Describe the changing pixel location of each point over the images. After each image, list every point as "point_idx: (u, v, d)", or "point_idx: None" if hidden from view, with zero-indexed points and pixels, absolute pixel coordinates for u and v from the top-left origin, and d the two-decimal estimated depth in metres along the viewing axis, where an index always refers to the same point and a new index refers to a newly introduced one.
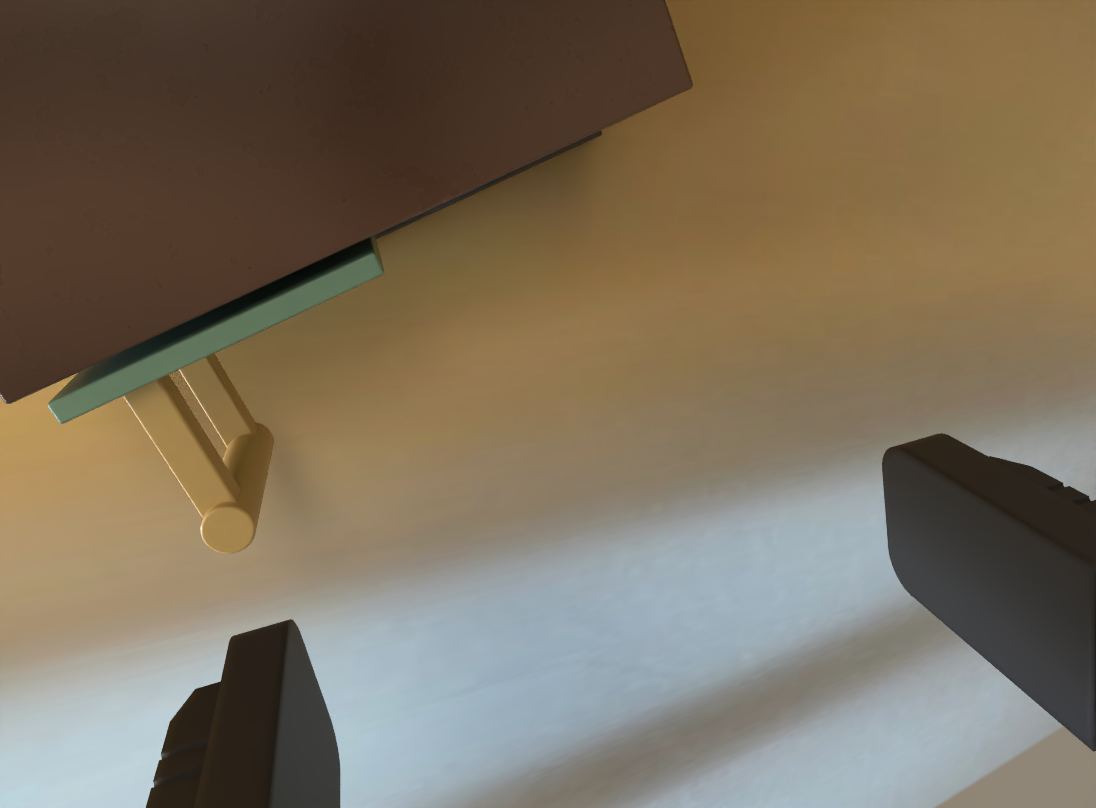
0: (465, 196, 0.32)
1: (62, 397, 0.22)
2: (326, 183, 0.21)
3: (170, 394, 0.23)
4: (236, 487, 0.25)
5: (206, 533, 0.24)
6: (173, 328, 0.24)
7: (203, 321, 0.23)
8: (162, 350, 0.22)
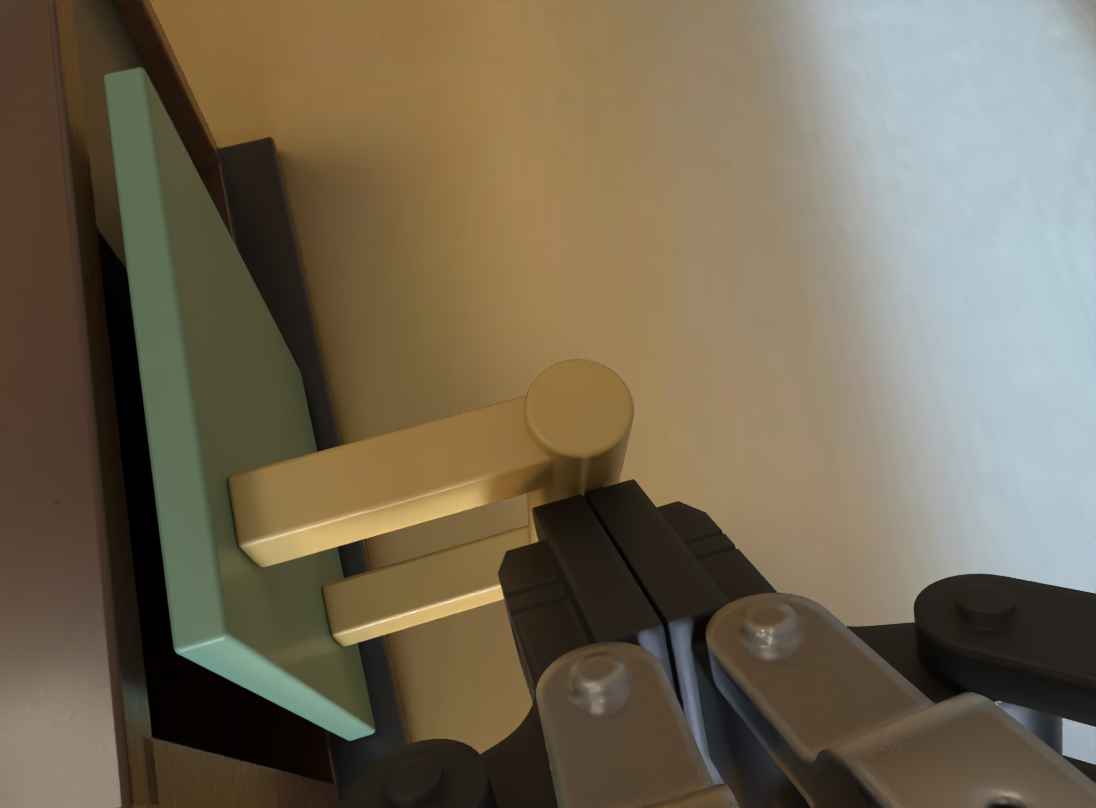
0: (304, 291, 0.23)
1: (170, 616, 0.10)
2: None
3: (280, 464, 0.12)
4: None
5: (576, 443, 0.11)
6: None
7: None
8: (144, 409, 0.11)
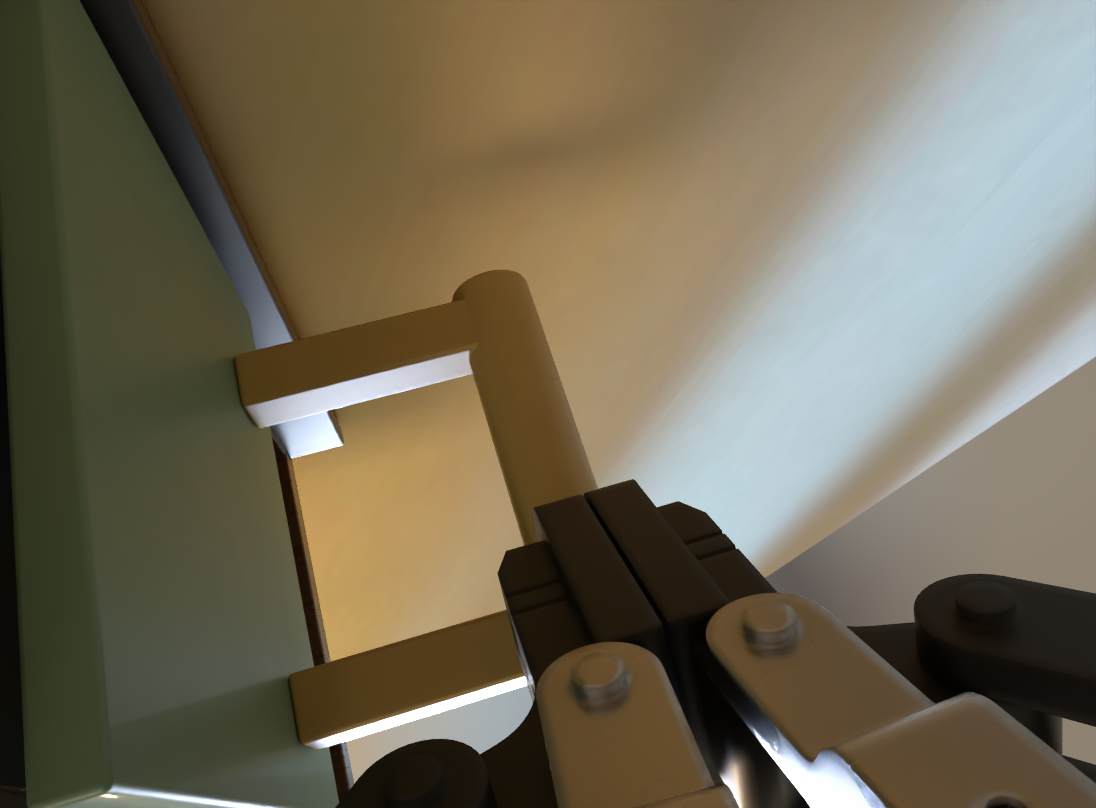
0: (190, 129, 0.14)
1: None
2: None
3: (344, 720, 0.13)
4: None
5: None
6: None
7: None
8: None
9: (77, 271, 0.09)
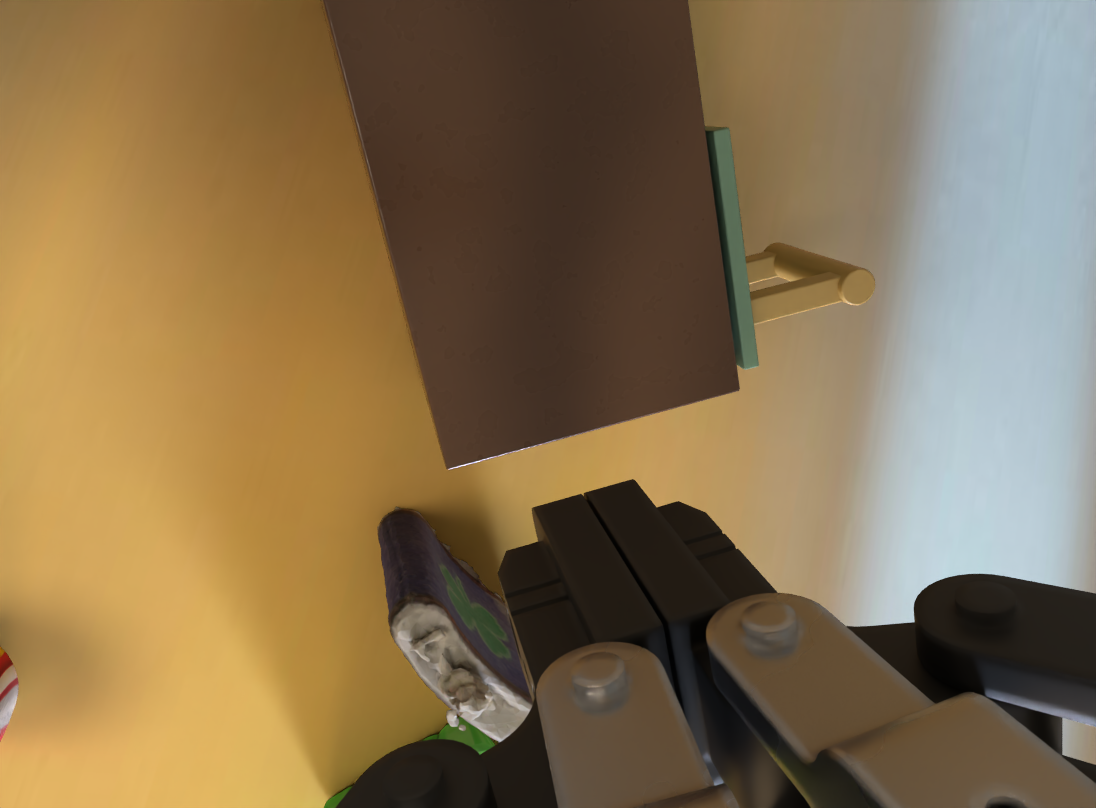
0: None
1: (743, 359, 0.33)
2: (663, 151, 0.30)
3: (757, 296, 0.33)
4: (827, 273, 0.34)
5: (855, 301, 0.34)
6: None
7: None
8: (734, 291, 0.32)
9: None
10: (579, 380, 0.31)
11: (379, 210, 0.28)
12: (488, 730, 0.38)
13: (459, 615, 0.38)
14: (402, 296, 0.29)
